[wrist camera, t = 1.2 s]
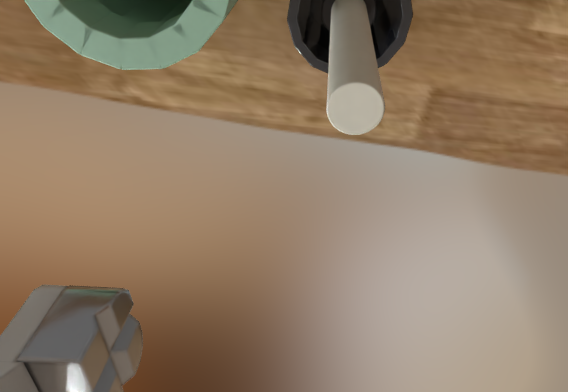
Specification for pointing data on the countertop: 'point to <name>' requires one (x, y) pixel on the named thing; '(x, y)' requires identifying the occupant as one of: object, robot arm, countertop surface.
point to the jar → (133, 28)
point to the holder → (316, 37)
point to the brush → (352, 66)
